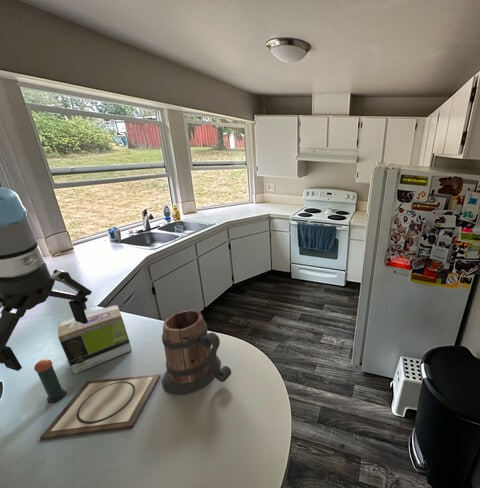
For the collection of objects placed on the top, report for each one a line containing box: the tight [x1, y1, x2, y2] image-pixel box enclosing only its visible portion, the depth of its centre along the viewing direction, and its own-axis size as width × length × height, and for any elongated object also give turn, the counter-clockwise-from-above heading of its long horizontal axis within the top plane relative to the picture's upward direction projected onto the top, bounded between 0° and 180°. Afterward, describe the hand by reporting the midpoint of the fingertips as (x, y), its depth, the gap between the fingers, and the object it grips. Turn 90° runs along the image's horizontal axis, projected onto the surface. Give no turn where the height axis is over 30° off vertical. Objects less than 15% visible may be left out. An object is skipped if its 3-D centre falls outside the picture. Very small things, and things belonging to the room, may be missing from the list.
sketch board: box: [39, 373, 161, 441], centre depth 69 cm, size 20×16×1 cm
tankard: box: [161, 309, 232, 396], centre depth 76 cm, size 24×17×20 cm
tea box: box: [57, 304, 133, 375], centre depth 83 cm, size 15×10×15 cm
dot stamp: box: [33, 358, 67, 404], centre depth 68 cm, size 4×4×13 cm
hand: (51, 342), depth 58 cm, fingers open, 13 cm apart
